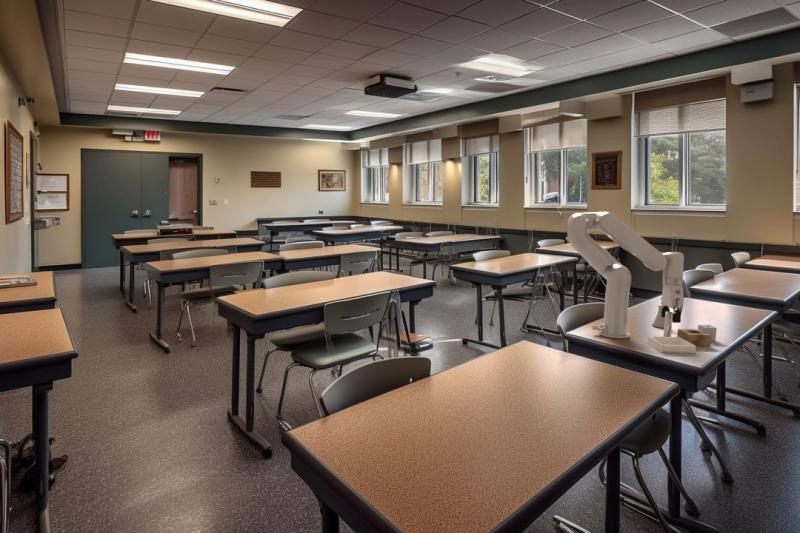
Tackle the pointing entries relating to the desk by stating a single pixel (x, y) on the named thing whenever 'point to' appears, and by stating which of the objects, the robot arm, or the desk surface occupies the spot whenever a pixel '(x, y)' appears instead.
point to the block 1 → (695, 337)
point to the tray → (671, 345)
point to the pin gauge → (668, 324)
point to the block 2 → (709, 330)
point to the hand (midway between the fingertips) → (670, 319)
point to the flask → (659, 319)
